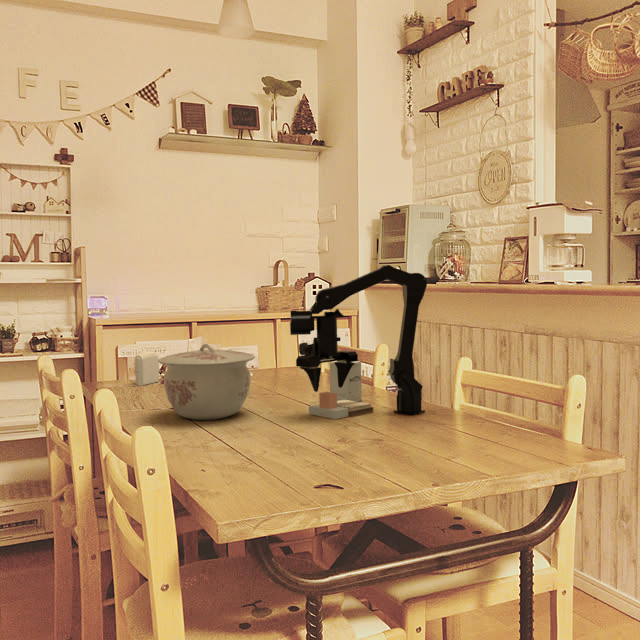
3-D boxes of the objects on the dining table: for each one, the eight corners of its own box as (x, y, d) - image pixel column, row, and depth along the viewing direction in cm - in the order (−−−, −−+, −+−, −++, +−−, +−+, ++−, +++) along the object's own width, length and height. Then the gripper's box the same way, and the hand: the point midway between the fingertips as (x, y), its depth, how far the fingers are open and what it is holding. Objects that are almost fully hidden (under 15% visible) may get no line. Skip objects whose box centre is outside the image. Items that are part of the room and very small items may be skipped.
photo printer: (142, 386, 255) (141, 353, 254) (133, 385, 257) (132, 352, 256) (161, 382, 264) (160, 350, 263) (152, 381, 266) (151, 349, 265)
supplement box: (349, 404, 208) (348, 363, 207) (329, 402, 213) (328, 362, 212) (362, 401, 214) (361, 360, 213) (343, 399, 218) (342, 359, 218)
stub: (348, 416, 190) (348, 394, 189) (335, 419, 186) (334, 396, 186) (322, 411, 198) (321, 389, 198) (308, 413, 195) (308, 392, 194)
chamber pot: (239, 427, 180) (237, 348, 179) (142, 424, 186) (139, 348, 184) (268, 406, 208) (266, 338, 206) (183, 405, 213) (181, 339, 212)
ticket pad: (373, 412, 195) (373, 403, 195) (350, 417, 190) (350, 408, 189) (344, 407, 204) (344, 398, 204) (321, 411, 198) (321, 402, 198)
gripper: (332, 330, 203) (333, 382, 204) (282, 335, 191) (284, 390, 192) (358, 332, 195) (359, 386, 196) (308, 337, 182) (310, 395, 183)
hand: (328, 389), depth 192 cm, fingers open, 9 cm apart
